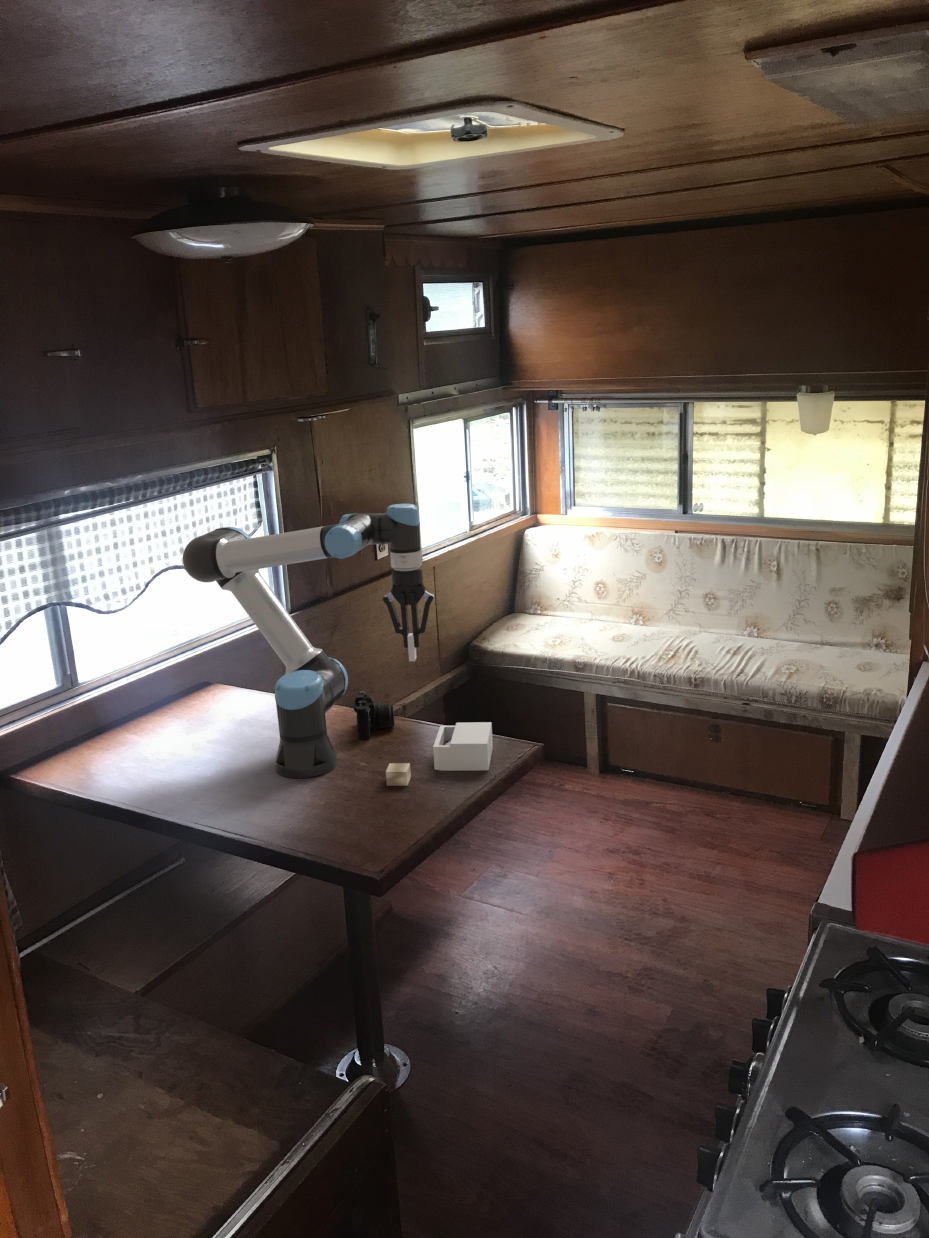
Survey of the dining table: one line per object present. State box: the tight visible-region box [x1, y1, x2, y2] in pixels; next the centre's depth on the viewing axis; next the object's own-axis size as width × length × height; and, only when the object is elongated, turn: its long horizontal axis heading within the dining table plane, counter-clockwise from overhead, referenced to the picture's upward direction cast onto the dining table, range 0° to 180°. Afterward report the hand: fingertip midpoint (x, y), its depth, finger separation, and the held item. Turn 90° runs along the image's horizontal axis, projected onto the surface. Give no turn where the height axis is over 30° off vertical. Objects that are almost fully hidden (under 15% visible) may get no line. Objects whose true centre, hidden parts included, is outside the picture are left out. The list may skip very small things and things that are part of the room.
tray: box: [432, 725, 451, 771], centre depth 246 cm, size 12×14×6 cm
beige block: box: [385, 762, 412, 787], centre depth 236 cm, size 5×5×4 cm
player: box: [438, 721, 494, 772], centre depth 246 cm, size 12×14×7 cm
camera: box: [352, 690, 395, 741], centre depth 268 cm, size 14×11×10 cm
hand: (412, 659), depth 248 cm, fingers closed
